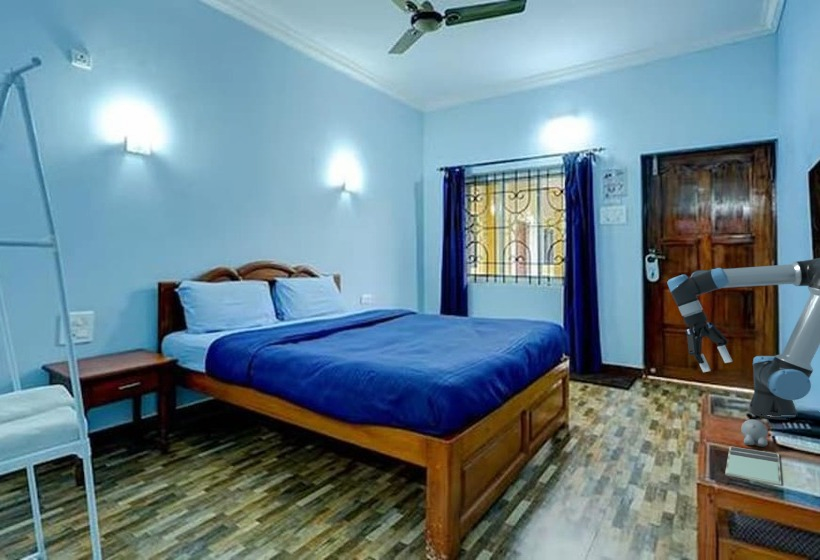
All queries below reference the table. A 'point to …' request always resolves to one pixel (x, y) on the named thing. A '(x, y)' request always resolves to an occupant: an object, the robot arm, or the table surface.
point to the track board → (754, 458)
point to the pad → (753, 468)
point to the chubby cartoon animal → (754, 433)
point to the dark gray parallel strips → (754, 453)
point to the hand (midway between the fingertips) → (718, 366)
